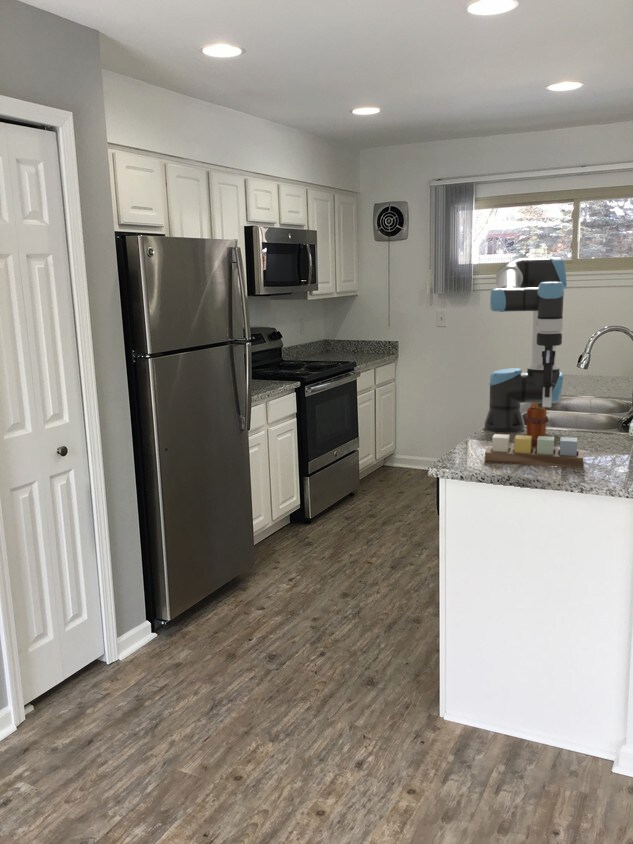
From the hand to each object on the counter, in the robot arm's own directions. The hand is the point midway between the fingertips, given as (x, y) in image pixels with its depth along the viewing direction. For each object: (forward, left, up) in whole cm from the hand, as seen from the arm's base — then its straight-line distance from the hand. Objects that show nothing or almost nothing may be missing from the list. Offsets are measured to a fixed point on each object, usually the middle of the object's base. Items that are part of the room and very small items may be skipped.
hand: (546, 406), depth 229 cm
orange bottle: (-20, -5, -19) cm, 28 cm away
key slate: (0, +7, -15) cm, 17 cm away
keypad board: (0, -4, -18) cm, 19 cm away
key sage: (0, 0, -15) cm, 15 cm away
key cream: (0, -14, -15) cm, 21 cm away
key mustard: (0, -7, -15) cm, 17 cm away
